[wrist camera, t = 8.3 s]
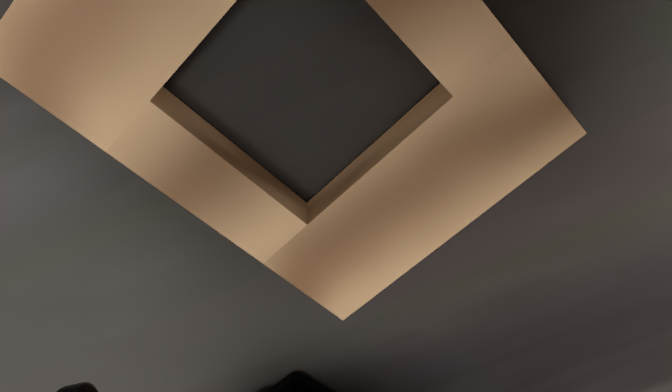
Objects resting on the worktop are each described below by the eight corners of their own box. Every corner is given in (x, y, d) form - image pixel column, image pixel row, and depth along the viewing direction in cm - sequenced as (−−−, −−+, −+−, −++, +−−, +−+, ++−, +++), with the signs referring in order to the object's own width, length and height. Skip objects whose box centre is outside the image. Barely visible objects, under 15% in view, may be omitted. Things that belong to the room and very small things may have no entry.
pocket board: (566, 116, 19) (587, 133, 18) (340, 295, 23) (343, 320, 22) (237, -296, 13) (230, -320, 12) (0, 45, 17) (-26, 58, 15)
